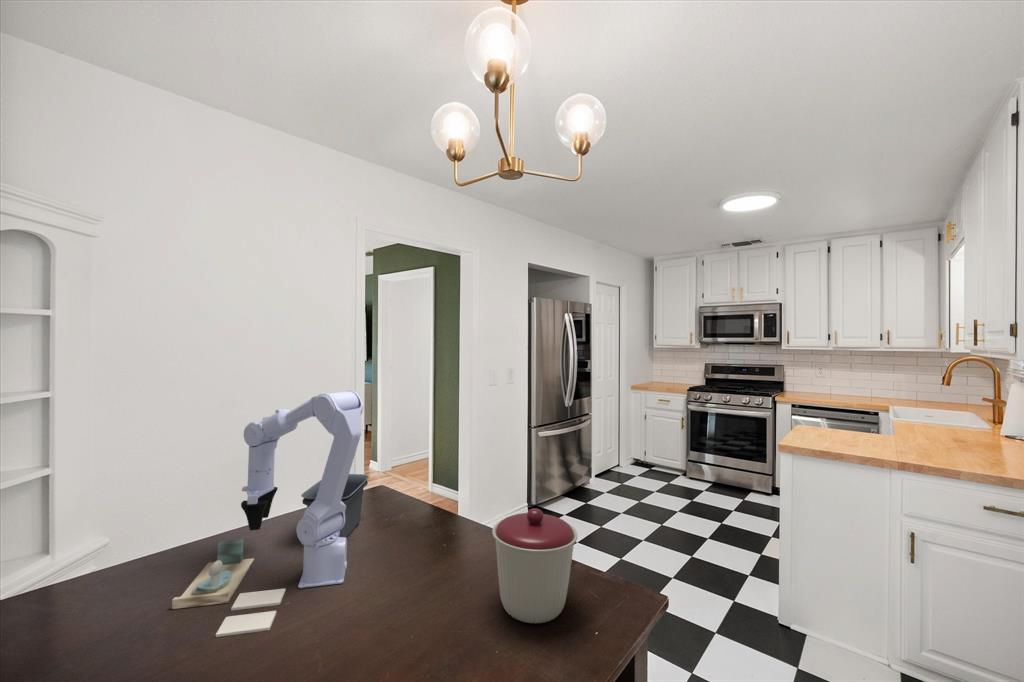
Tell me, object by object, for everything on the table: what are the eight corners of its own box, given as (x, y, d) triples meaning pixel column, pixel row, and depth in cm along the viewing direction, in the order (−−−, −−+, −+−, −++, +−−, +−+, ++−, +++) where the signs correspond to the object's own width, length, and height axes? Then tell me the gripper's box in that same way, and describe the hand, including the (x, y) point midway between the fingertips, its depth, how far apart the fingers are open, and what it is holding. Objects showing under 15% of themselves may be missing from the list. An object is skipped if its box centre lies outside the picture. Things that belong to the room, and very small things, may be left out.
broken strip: (285, 590, 98) (285, 588, 98) (269, 630, 84) (269, 627, 84) (239, 595, 95) (239, 593, 95) (215, 637, 82) (215, 634, 82)
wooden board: (254, 559, 111) (254, 538, 111) (227, 602, 92) (228, 576, 93) (208, 564, 108) (209, 542, 108) (172, 609, 90) (173, 582, 90)
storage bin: (345, 551, 117) (347, 497, 117) (287, 550, 117) (289, 496, 117) (370, 520, 138) (372, 474, 138) (321, 519, 138) (322, 473, 138)
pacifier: (184, 597, 94) (208, 599, 93) (184, 567, 94) (208, 569, 93) (212, 579, 101) (235, 581, 100) (213, 551, 101) (236, 553, 100)
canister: (582, 595, 99) (584, 501, 100) (565, 646, 82) (568, 532, 82) (506, 579, 105) (509, 490, 105) (476, 623, 88) (479, 517, 88)
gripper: (251, 462, 117) (250, 513, 117) (233, 478, 103) (231, 536, 103) (281, 461, 119) (279, 511, 119) (267, 476, 105) (265, 534, 105)
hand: (259, 523), depth 111 cm, fingers open, 7 cm apart
